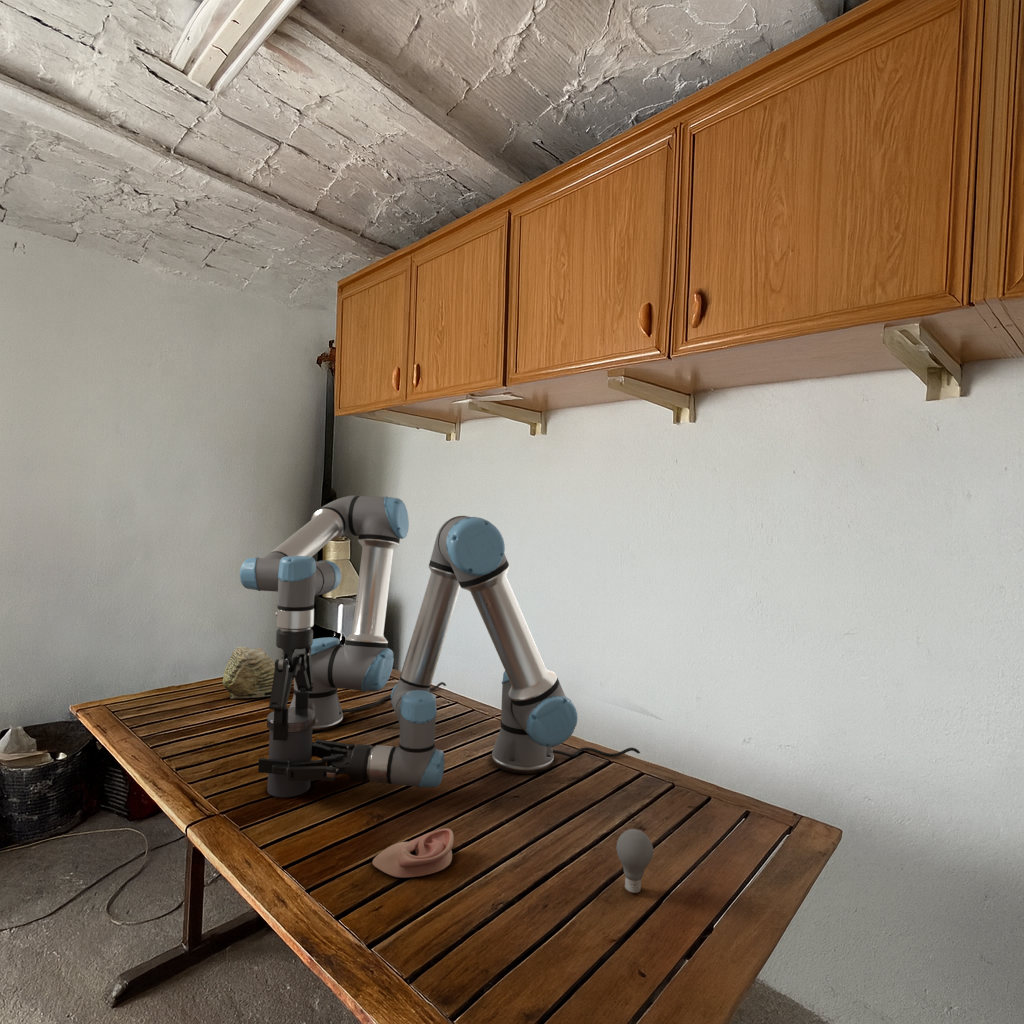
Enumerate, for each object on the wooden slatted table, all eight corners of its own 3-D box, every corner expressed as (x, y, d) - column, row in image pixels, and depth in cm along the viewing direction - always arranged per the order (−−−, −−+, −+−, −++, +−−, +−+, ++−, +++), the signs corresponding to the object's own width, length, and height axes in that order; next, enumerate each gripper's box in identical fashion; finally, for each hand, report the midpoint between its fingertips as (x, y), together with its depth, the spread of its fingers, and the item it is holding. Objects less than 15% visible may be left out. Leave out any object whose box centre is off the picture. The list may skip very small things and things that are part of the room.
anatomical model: (365, 849, 107) (391, 816, 119) (364, 872, 107) (390, 837, 119) (440, 861, 105) (459, 827, 116) (439, 885, 105) (459, 848, 116)
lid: (319, 729, 135) (320, 719, 135) (269, 735, 130) (270, 725, 130) (311, 714, 144) (311, 705, 144) (264, 719, 139) (264, 710, 139)
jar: (313, 793, 135) (316, 721, 135) (270, 800, 131) (272, 726, 131) (306, 776, 143) (309, 708, 143) (265, 782, 139) (267, 712, 139)
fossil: (218, 695, 195) (220, 647, 195) (278, 685, 208) (279, 640, 207) (228, 703, 189) (230, 653, 188) (289, 692, 201) (290, 645, 201)
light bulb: (610, 879, 108) (613, 822, 108) (644, 879, 109) (647, 822, 109) (619, 902, 102) (622, 840, 102) (655, 901, 103) (658, 840, 103)
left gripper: (299, 617, 148) (295, 711, 149) (253, 638, 125) (249, 749, 126) (330, 619, 148) (326, 713, 148) (290, 640, 125) (285, 752, 125)
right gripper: (354, 805, 125) (244, 796, 127) (384, 760, 147) (290, 753, 148) (356, 767, 125) (245, 759, 127) (385, 728, 146) (291, 721, 148)
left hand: (291, 730), depth 137 cm, fingers open, 10 cm apart
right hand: (269, 756), depth 137 cm, fingers closed on jar, 9 cm apart
